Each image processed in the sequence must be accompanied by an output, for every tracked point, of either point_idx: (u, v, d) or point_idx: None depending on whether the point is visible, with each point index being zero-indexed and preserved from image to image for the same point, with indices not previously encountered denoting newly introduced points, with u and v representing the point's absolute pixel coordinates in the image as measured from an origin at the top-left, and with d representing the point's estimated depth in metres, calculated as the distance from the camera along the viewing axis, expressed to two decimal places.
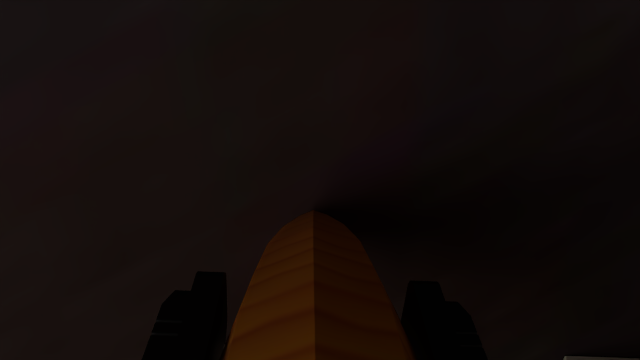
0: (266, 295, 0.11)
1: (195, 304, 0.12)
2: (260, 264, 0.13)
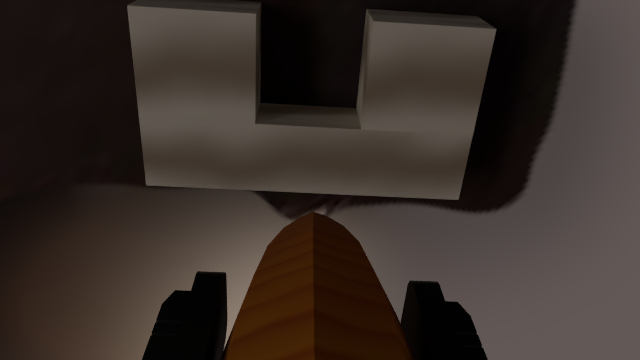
0: (266, 297, 0.11)
1: (195, 304, 0.12)
2: (260, 266, 0.13)
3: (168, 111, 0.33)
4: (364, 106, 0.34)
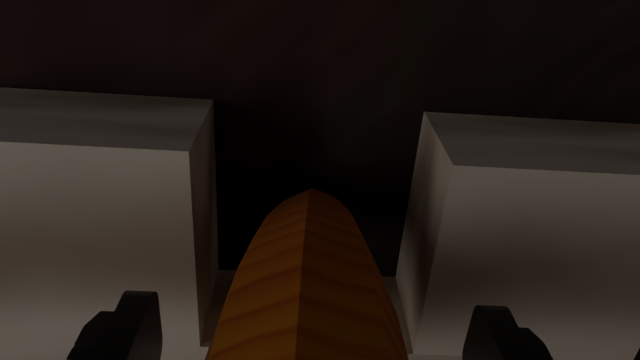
0: (261, 256, 0.13)
1: (115, 327, 0.11)
2: (258, 232, 0.14)
3: (20, 328, 0.16)
4: (422, 316, 0.16)
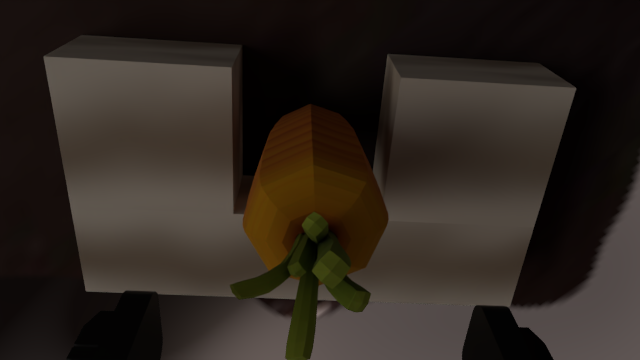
0: (284, 125, 0.20)
1: (115, 327, 0.11)
2: (279, 120, 0.22)
3: (111, 198, 0.24)
4: (385, 190, 0.24)
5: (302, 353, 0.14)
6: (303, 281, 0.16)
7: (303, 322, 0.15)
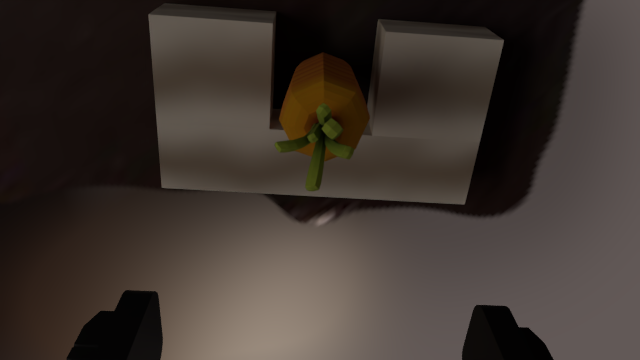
0: (305, 63, 0.31)
1: (115, 327, 0.11)
2: (301, 62, 0.33)
3: (185, 116, 0.34)
4: (375, 113, 0.35)
5: (314, 184, 0.25)
6: (316, 149, 0.26)
7: (315, 169, 0.26)
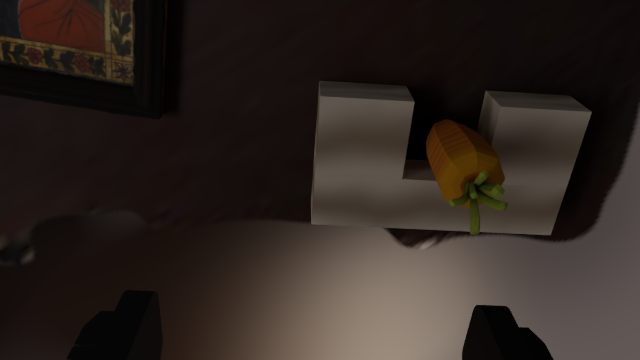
0: (444, 132, 0.40)
1: (115, 327, 0.11)
2: (435, 129, 0.42)
3: (337, 170, 0.44)
4: None
5: (477, 229, 0.34)
6: (472, 202, 0.36)
7: (476, 217, 0.35)
